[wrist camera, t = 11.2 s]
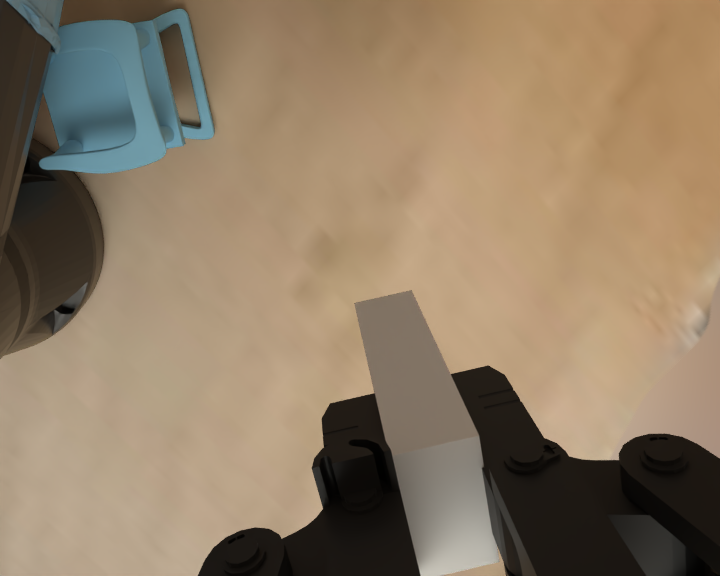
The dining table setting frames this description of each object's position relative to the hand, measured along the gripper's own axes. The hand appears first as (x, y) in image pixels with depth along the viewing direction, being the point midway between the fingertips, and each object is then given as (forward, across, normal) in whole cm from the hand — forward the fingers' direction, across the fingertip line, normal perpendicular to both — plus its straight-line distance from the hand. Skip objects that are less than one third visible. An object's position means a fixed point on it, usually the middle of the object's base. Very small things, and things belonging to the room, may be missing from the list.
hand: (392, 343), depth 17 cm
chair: (+29, -11, +7) cm, 32 cm away
